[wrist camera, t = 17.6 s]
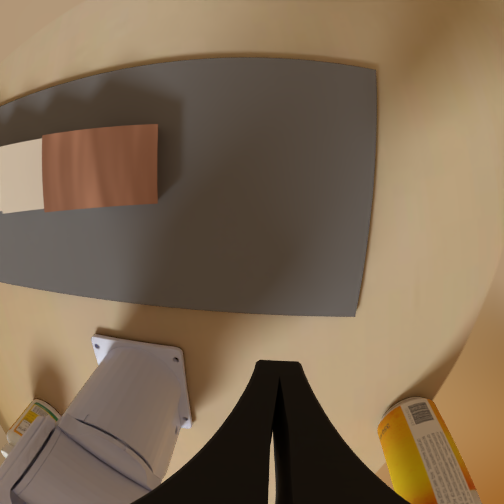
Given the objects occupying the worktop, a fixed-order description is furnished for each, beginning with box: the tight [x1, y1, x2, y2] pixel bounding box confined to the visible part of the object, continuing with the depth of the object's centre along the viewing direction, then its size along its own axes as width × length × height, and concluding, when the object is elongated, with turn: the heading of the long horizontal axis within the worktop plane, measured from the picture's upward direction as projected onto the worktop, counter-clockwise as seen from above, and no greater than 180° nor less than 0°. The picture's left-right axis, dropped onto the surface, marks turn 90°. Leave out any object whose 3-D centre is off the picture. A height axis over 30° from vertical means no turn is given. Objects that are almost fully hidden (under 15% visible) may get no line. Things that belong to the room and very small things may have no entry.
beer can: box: [377, 397, 482, 504], centre depth 16 cm, size 6×6×15 cm
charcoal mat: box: [0, 58, 377, 317], centre depth 18 cm, size 16×34×1 cm, turn 88°
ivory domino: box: [0, 138, 44, 214], centre depth 15 cm, size 2×4×7 cm
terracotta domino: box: [42, 124, 158, 212], centre depth 15 cm, size 2×4×7 cm
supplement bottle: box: [1, 399, 61, 458], centre depth 22 cm, size 5×5×10 cm
